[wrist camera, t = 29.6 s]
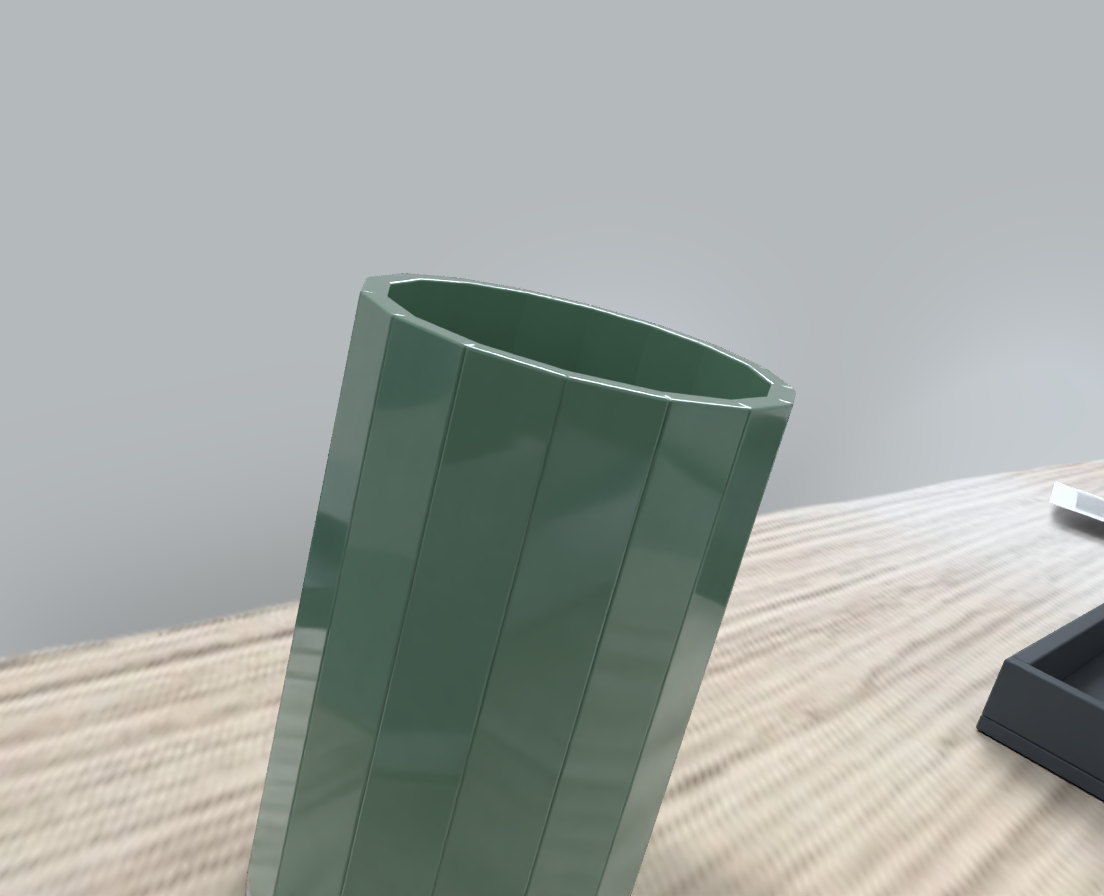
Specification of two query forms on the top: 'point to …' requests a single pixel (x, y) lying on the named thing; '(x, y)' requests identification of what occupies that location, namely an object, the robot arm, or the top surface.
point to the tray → (1055, 702)
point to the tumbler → (507, 594)
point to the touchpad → (1078, 501)
